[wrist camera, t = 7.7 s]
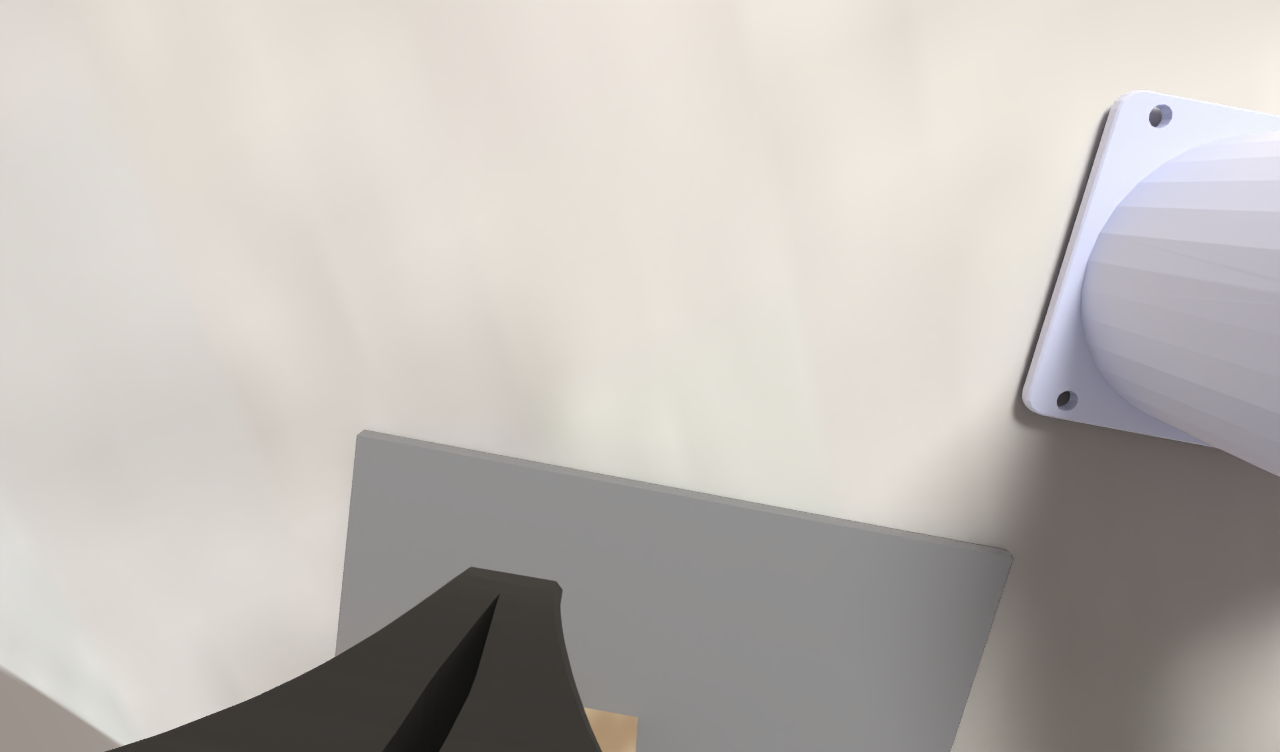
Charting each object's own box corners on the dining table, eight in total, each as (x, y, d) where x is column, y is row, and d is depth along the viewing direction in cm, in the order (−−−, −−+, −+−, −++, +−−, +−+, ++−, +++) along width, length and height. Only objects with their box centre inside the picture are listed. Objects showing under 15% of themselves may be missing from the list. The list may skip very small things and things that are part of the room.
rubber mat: (1005, 549, 21) (1013, 557, 21) (893, 895, 24) (898, 910, 24) (364, 429, 21) (356, 435, 21) (328, 790, 24) (320, 802, 24)
